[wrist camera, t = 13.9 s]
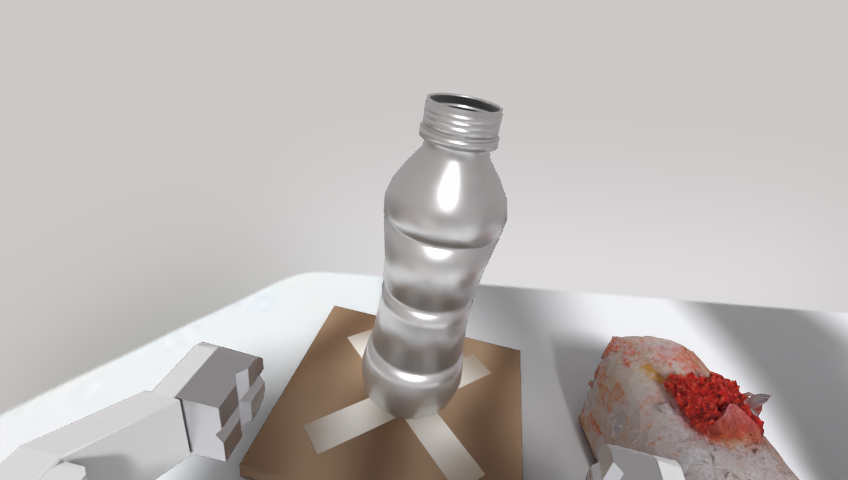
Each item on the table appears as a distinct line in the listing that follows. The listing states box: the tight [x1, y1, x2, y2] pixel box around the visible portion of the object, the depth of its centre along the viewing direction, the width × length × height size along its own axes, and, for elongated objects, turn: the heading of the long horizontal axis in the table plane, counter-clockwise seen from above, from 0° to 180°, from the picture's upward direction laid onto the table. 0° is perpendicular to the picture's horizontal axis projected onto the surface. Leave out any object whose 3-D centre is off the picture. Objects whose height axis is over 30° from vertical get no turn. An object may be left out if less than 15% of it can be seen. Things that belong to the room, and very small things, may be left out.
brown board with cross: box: [239, 306, 523, 480], centre depth 31 cm, size 16×15×1 cm
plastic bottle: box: [361, 93, 507, 420], centre depth 26 cm, size 6×7×20 cm
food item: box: [579, 336, 799, 480], centre depth 25 cm, size 14×8×10 cm, turn 3°
